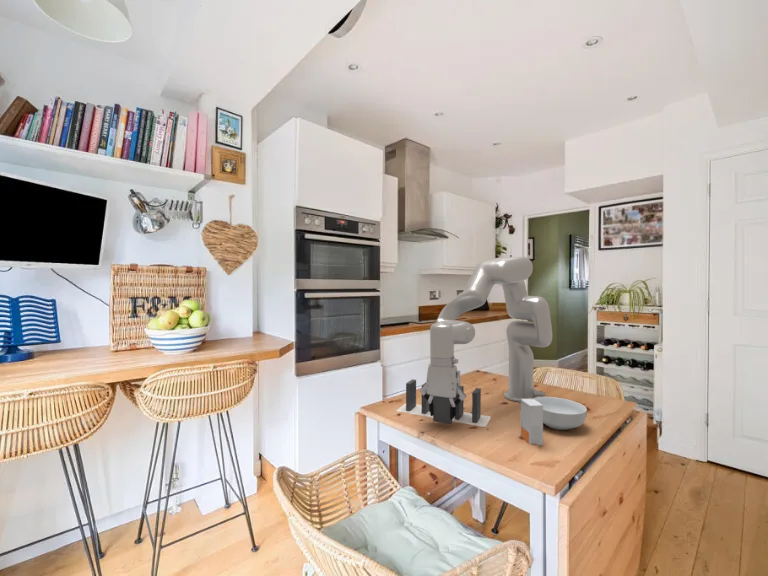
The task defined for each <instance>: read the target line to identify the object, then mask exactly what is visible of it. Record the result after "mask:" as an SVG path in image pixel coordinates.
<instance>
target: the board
mask: <svg viewBox="0 0 768 576" xmlns="http://www.w3.org/2000/svg"><path fill="white" fill-rule="evenodd" d="M395 411H396V412H399V413H404V414H409V415H415V416H416V415H417V416H421V417H427V418H432V419H433V416H431V415H430V412H429V411H428V412H427V413H426V414H422V404H418V403H416V407H415V408H413V409H412V410H411V411H406V402H405V403H404V404H402V405H401V406H400V407H399V408H397V409H396V410H395ZM491 417H492V416H489V415H483V414H481V417H480V419H479V420H478V422H477V423H473V422H472V412H467V411H466V412H465V411H463V415H462V417H461V418H460V419H459V420H456V419H454V418H455V417H454V418H453V419H452V422H454V423H455V422H456V423H460V424H465V425H472V426H477V427H482V428H483V427H484V428H486V427H487V425H488V423H490V422H489V421H490V420H491Z"/></svg>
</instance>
